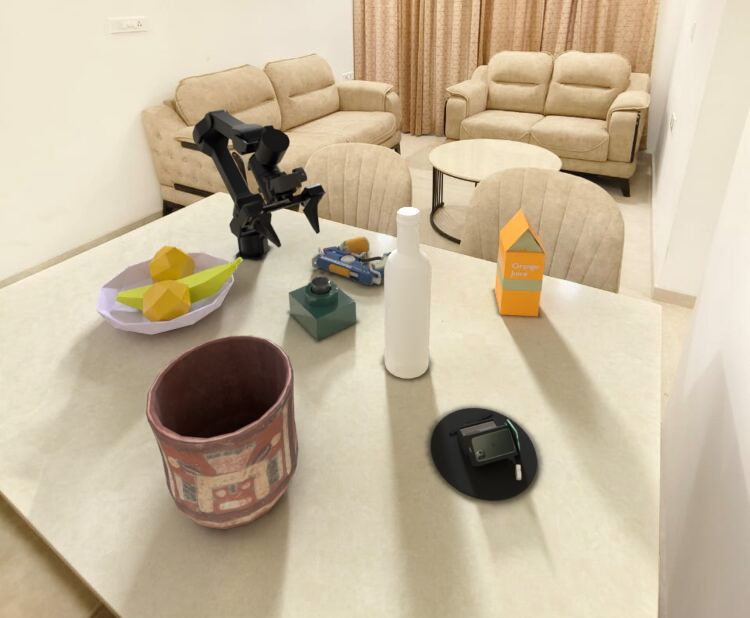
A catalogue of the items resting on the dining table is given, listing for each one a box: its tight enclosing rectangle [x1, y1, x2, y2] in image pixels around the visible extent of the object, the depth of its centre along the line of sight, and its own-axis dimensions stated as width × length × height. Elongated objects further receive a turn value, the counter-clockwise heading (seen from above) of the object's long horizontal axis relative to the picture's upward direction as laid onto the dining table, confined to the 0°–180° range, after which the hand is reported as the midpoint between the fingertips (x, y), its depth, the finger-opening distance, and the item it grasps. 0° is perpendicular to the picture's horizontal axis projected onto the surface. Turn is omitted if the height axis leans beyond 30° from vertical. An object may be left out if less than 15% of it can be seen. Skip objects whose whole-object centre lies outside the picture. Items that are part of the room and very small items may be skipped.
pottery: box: [145, 334, 299, 530], centre depth 65 cm, size 18×18×18 cm
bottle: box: [383, 206, 433, 379], centre depth 84 cm, size 8×8×30 cm
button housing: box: [288, 280, 357, 342], centre depth 100 cm, size 11×9×7 cm
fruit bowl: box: [95, 245, 244, 336], centre depth 103 cm, size 28×27×11 cm
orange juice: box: [494, 208, 547, 317], centre depth 102 cm, size 8×9×20 cm
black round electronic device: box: [430, 407, 538, 502], centre depth 71 cm, size 15×15×6 cm
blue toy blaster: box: [311, 236, 393, 286], centre depth 119 cm, size 21×4×15 cm
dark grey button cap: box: [310, 275, 331, 295], centre depth 99 cm, size 4×4×2 cm
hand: (299, 239), depth 103 cm, fingers open, 9 cm apart
